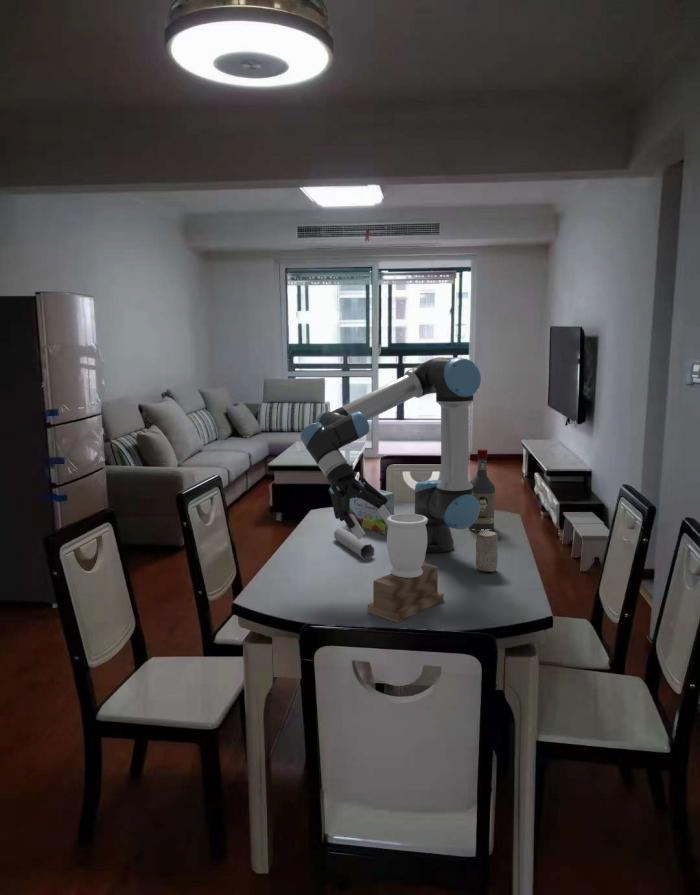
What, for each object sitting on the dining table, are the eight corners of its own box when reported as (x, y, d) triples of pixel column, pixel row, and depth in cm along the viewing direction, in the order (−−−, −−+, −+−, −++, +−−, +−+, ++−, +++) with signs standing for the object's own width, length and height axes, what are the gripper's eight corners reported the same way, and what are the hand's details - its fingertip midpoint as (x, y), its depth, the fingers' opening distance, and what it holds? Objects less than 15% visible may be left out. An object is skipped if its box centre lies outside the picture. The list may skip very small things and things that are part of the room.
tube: (329, 529, 237) (357, 548, 215) (342, 523, 239) (372, 541, 216) (333, 543, 239) (362, 562, 216) (346, 536, 241) (376, 555, 218)
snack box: (346, 523, 260) (345, 485, 258) (356, 521, 264) (356, 483, 262) (384, 534, 245) (384, 494, 243) (395, 531, 249) (395, 492, 246)
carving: (500, 569, 206) (501, 531, 204) (491, 575, 200) (492, 537, 198) (481, 565, 210) (482, 528, 208) (471, 572, 204) (472, 534, 202)
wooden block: (413, 591, 188) (414, 560, 186) (443, 600, 181) (444, 568, 180) (367, 612, 173) (367, 578, 172) (397, 622, 166) (398, 588, 165)
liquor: (466, 524, 258) (468, 448, 253) (490, 525, 257) (492, 448, 253) (470, 531, 249) (471, 451, 244) (494, 531, 248) (497, 451, 244)
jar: (415, 565, 182) (416, 511, 180) (434, 576, 173) (434, 520, 171) (380, 569, 179) (380, 515, 176) (396, 582, 169) (397, 524, 167)
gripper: (358, 472, 200) (398, 529, 192) (298, 485, 182) (339, 549, 174) (372, 456, 196) (413, 514, 188) (312, 468, 177) (355, 533, 170)
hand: (378, 531), depth 181 cm, fingers open, 13 cm apart
